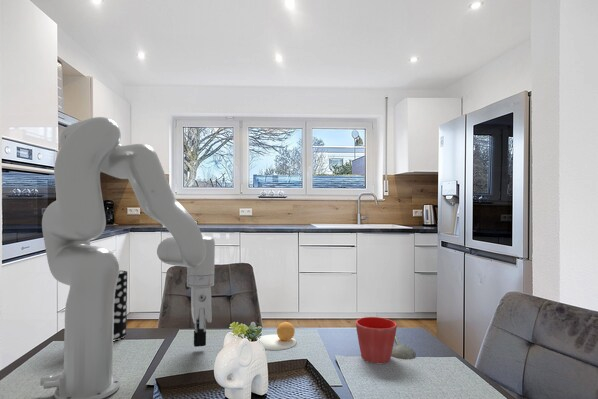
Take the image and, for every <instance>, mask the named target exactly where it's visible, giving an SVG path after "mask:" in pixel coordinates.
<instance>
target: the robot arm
mask: <svg viewBox="0 0 598 399" xmlns="http://www.w3.org/2000/svg"><path fill="white" fill-rule="evenodd" d="M121 134H122V133H121V129H120V127H119V125H118V124H117V122H115V121H114V120H112V119H111V118H108V117H104V116H97V117H96V116H95V117H91V118H88V119H83V120H80V121H77V122H74V123H71V124H68V125H67V126H65V128H64V129H63V130H62V131H61V133H60V136H59V142H60V146H61V147H60V149H59V151H58V153H57V155H56V158H55V161H54V167H53V170H54V171H53V174H54V175H53V177H54V187H55V195H56V196H55V197H56V200H55V201H52V202H51V203H50V204H49V205H48V206H47V207H46V209H45V210H44V212H43V214H42V218H41V228H42V229H41V231H42V236H43V237H42V238H43V241H44V248H45V253H46V259H47V264H48V267H49V271H50V273H51V275H52V277H53V278H54V279H55V280H56V281H58V282H59V283H61V284H63V285H67V286H69V291H68V294H67V298H66V303H65V309H64V338H63V339H64V340H63V346H64V347H63V371H61V372H58V374H48V375H47V374H46V375H42V376H41V377H40V381H39V384H40V386H43V389H44V390H45V389H52V388H55V390H54V399H106V398H107V397H109V396H111V395H112V394H114V393H115V392H117V391H118V389H120V387H121V379H120V377H119V376H118V375H116V374H114V371H113V370H114V342H113V336H114V300H115V291H116V286H117V281H118V276H119V271H120V265H119V262H118V259H117V257H116V256H115V255H114V253H112V252H111V251H110V250H108V249H106V248H104V247H101V246H97V245H91V241H94V240H95V239H98V238H99V237H100V236H101V235H103V233H104V232H105V230H106V225H107V218H106V211H105V206H104V200H103V194H102V193H103V192H102V187H101V173H104V174H106V175H108V176H111V177H114V178H116V179H120V180H128V182H129V184H130V186H131V188H132V190H133V193H134V195H135V198H136V200H137V202H138V205H139V207H140V209H141V211H142V212H143V213H144V214H145V215H146V216H148V217H149V218H151V219H153V220H154V221H157V223H159V224H161V225H162V226H164V228H165V229H167V231H169V233H170V235H172V236H171V237H166V238H164V239H162V241H160V242H159V244H158V246H157V248H156V255H157V257H158V259H159V260H160V261H161V262H162V263H164V264H167V265H170V266H171V265H172V266H175V267H176V266H177V267H185V268H186V270H187V271H186V273H187V274H186V287H187V288H190V292H191V293H190V300H191V301H190V303H191V304H190V305H191V306H190V307H191V317H192V322H193V324H194V330H193V347H195V348H197V347H205V346H206V345H207V331H206V327H207V326H206V325H207V323H209V324H210V323H212V321H213V320H212V318H213V317H212V287H214V286H215V260H216V259H215V256H216V255H215V254H216V253H215V251H216V248H215V247H216V244H215V243H216V242H215V238H213V237H211V236H203V235H202V232H201V229H200V227H199V225H198V224H197V221H196V220H195V218H193V216H192V215H191V214H190V213H189V212H188V211H187V209H186V208H185V207H184V206H183V205H182V203H180V202H179V201H178V200H177V199H176V197H175V196H174V193H173V191H172V187H171V186H170V184H169V181H168V178H167V176H166V173H165V171H164V167H163V166H162V164H161V163H162V162H161V161H160V158H159V155H158V153H157V152H156V150H155V149H154V148H153V147H152V146H150V145H148V144H145V143H133V144H128V145H122V144H120V143H121V138H122V135H121Z"/></svg>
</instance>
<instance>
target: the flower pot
mask: <svg viewBox="0 0 598 399" xmlns="http://www.w3.org/2000/svg"><path fill="white" fill-rule="evenodd" d="M355 327H356V335H357V339H358V345H359V352H360V356H361V359H362V358H363V359H364V360H363V359H362V360H363V361H365V362H367V361H368V362H367V363H370V362H372V363H371V364H376V363H382V364H385V363H388V362H390V361H391V359H392V358H391V357H392V349H393V346H395V341H396V340H395V335H396V333H397V327H398V325H397V323H396V322H395V321H393V320H392V319H388V318H384V317H378V316H377V317H376V316H365V317H361V318H358V319H356V320H355Z"/></svg>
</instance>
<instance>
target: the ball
mask: <svg viewBox="0 0 598 399" xmlns="http://www.w3.org/2000/svg"><path fill="white" fill-rule="evenodd" d="M276 335H278V337H279V338H280V339H281V340H283V341H288V340H290V339H292V338H294V336H295V326H294V325H293V324H292V323H291V322H288V321H284V322H281V323H279V325H278V326H277V328H276Z"/></svg>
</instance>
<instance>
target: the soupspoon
mask: <svg viewBox="0 0 598 399" xmlns="http://www.w3.org/2000/svg"><path fill="white" fill-rule="evenodd" d="M394 341H395V342H396V345H395V344H394V345H393V349H392V354H391V357H393V358H395V359H398V360H412V359H413V358H414V359H415V358H416V352H415V350H414V349H413V348H411V347H410V346H408V345H407V344H401V342H400V340H399V339H398V337H397V336H396V334H395V340H394Z"/></svg>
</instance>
